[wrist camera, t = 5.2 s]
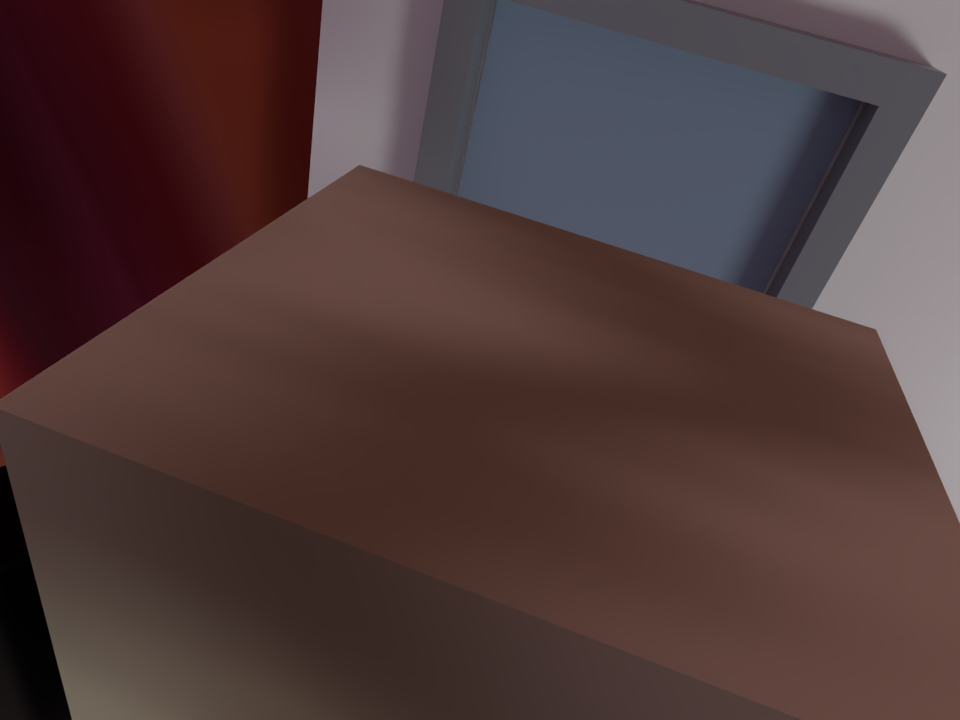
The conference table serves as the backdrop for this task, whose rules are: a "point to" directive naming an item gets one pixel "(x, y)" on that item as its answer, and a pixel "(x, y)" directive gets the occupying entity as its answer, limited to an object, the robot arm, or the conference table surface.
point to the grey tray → (689, 145)
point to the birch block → (481, 488)
